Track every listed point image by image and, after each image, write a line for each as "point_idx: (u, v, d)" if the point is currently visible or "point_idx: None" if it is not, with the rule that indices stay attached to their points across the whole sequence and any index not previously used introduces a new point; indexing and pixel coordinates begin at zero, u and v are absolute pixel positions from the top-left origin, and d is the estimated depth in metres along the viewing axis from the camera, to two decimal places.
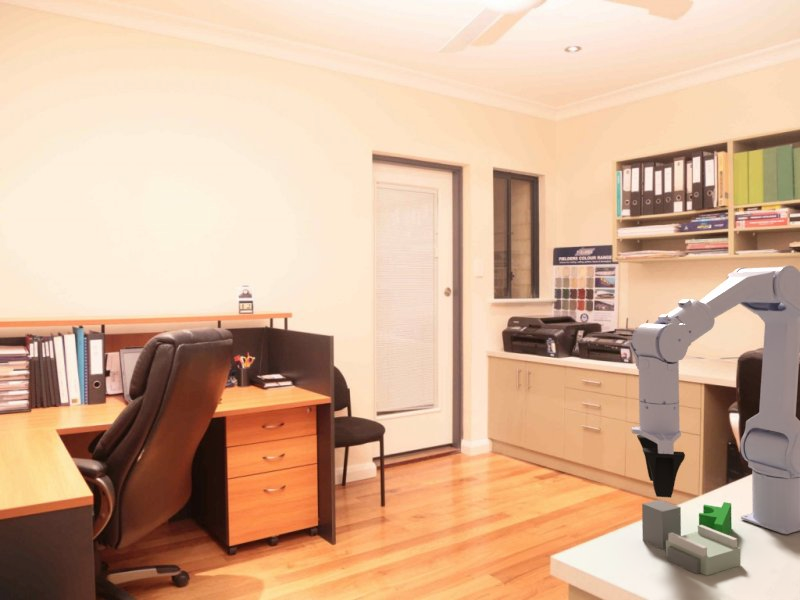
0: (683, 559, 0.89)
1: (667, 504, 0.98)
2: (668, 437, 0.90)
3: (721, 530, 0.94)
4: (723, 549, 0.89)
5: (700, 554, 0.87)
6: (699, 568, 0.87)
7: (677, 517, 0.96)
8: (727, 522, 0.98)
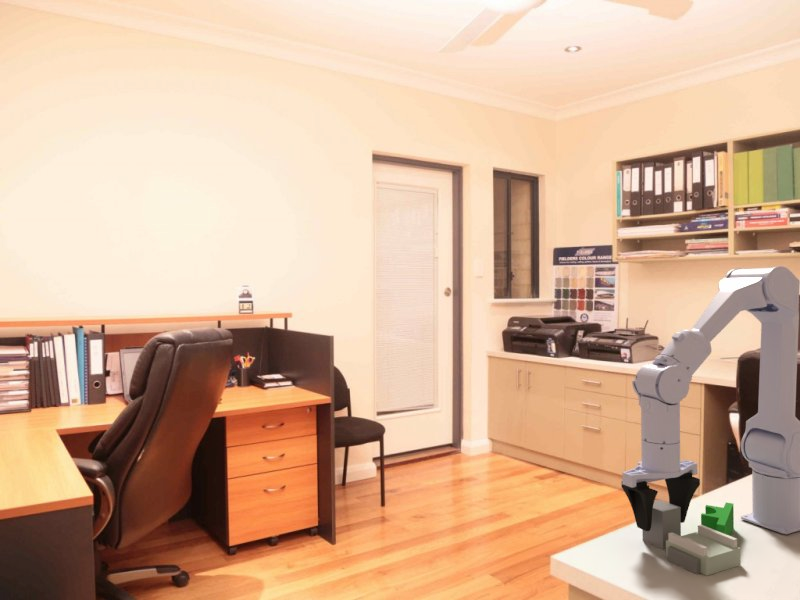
0: (683, 559, 0.89)
1: (667, 504, 0.98)
2: (642, 473, 0.95)
3: (723, 531, 0.93)
4: (723, 549, 0.89)
5: (700, 554, 0.87)
6: (699, 568, 0.87)
7: (677, 517, 0.96)
8: (729, 522, 0.98)
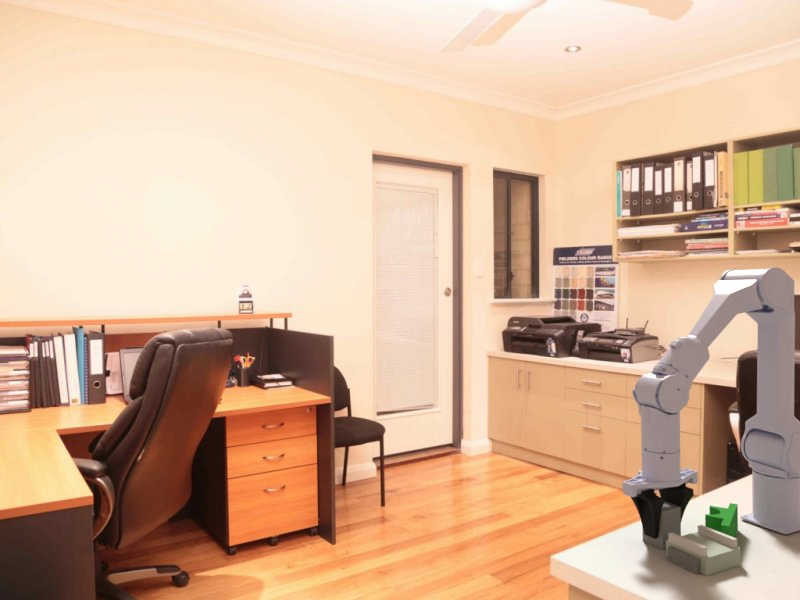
0: (683, 559, 0.89)
1: (667, 504, 0.98)
2: (642, 482, 0.95)
3: (728, 531, 0.93)
4: (723, 549, 0.89)
5: (700, 554, 0.87)
6: (699, 568, 0.87)
7: (677, 516, 0.96)
8: (734, 523, 0.98)
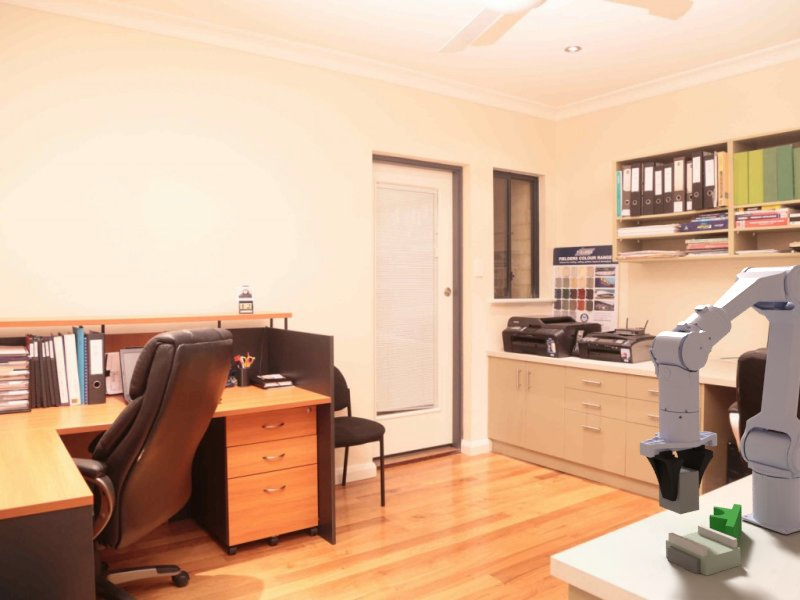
0: (683, 559, 0.89)
1: (684, 468, 0.95)
2: (660, 443, 0.92)
3: (732, 532, 0.93)
4: (723, 549, 0.89)
5: (700, 554, 0.87)
6: (699, 568, 0.87)
7: (695, 481, 0.93)
8: (738, 524, 0.98)
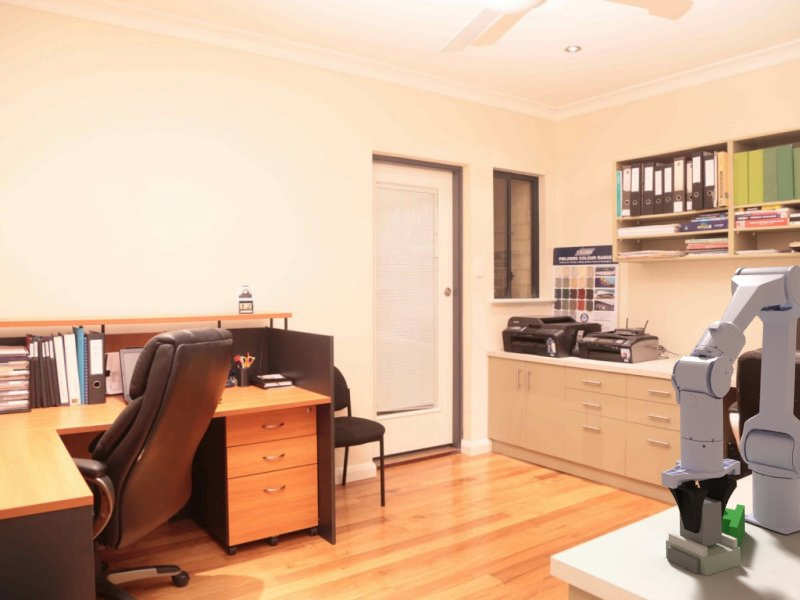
0: (683, 559, 0.89)
1: (706, 499, 0.91)
2: (683, 473, 0.88)
3: (736, 533, 0.93)
4: (723, 549, 0.89)
5: (700, 554, 0.87)
6: (699, 568, 0.87)
7: (717, 512, 0.90)
8: (741, 524, 0.97)
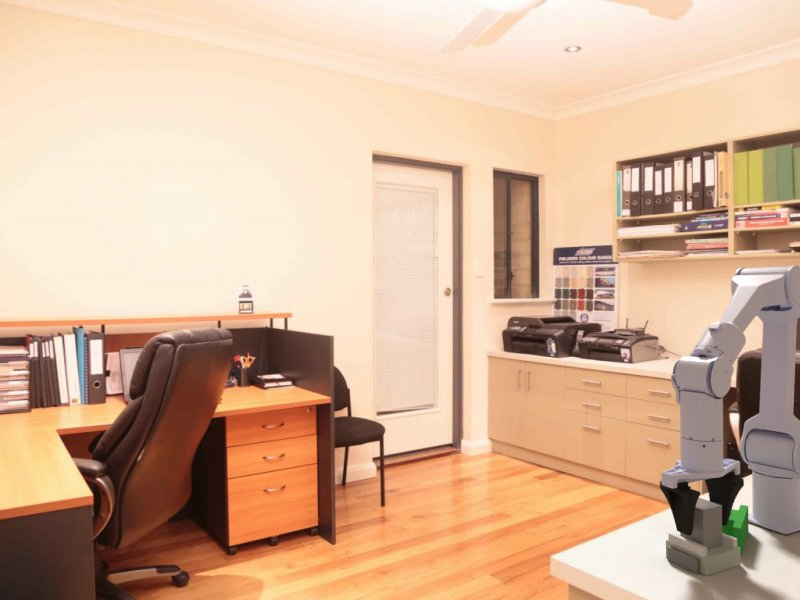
0: (683, 559, 0.89)
1: (707, 502, 0.91)
2: (683, 473, 0.88)
3: (740, 534, 0.92)
4: (723, 549, 0.89)
5: (700, 554, 0.87)
6: (699, 568, 0.87)
7: (718, 516, 0.90)
8: (745, 525, 0.97)
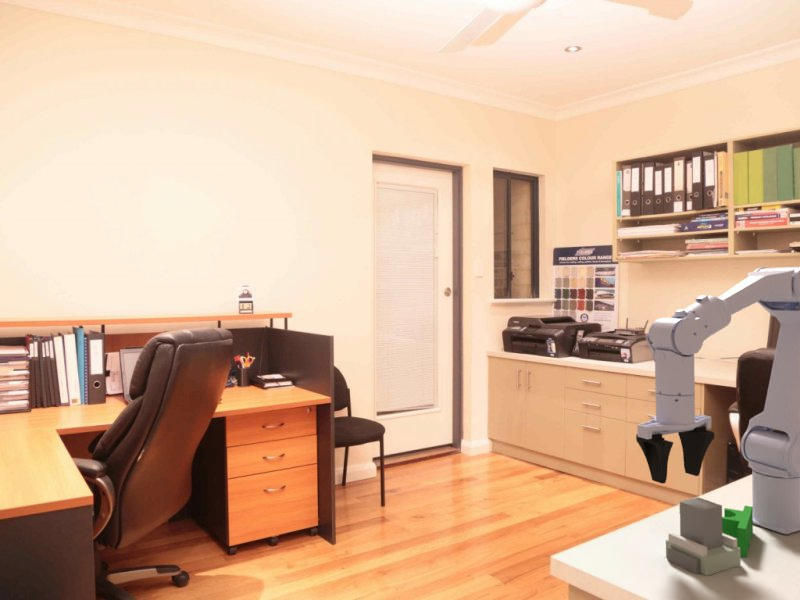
0: (683, 559, 0.89)
1: (707, 502, 0.91)
2: (657, 425, 0.95)
3: (744, 534, 0.92)
4: (723, 549, 0.89)
5: (700, 554, 0.87)
6: (699, 568, 0.87)
7: (718, 516, 0.90)
8: (749, 526, 0.97)
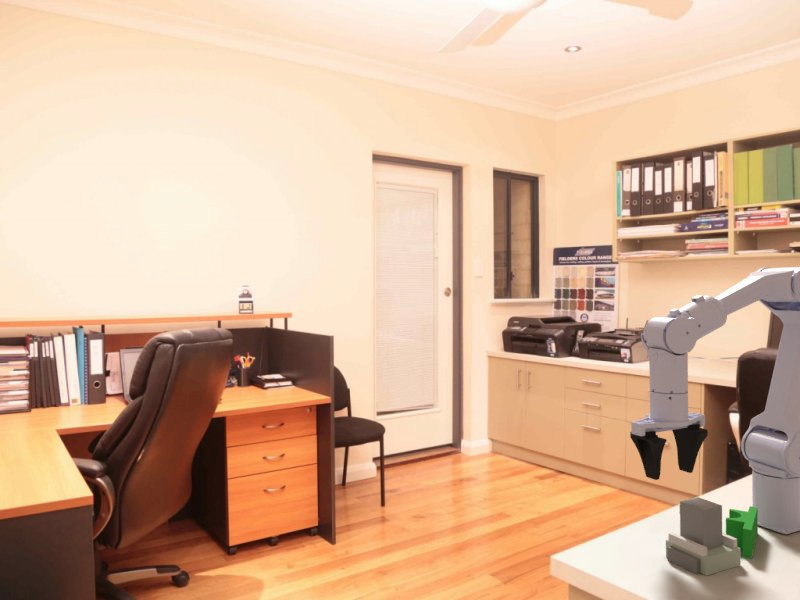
0: (683, 559, 0.89)
1: (707, 502, 0.91)
2: (651, 422, 0.96)
3: (750, 535, 0.92)
4: (723, 549, 0.89)
5: (700, 554, 0.87)
6: (699, 568, 0.87)
7: (718, 516, 0.90)
8: (754, 527, 0.96)
